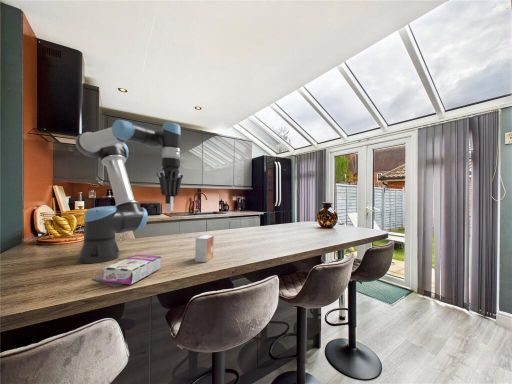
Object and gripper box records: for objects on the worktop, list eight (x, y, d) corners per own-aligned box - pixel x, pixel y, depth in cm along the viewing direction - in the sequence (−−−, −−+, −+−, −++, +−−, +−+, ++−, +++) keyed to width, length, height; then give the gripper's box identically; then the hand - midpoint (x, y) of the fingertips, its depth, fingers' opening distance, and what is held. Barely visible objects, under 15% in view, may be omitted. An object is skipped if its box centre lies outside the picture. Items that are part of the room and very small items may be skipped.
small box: (206, 262, 95) (206, 238, 95) (194, 261, 96) (195, 238, 96) (213, 257, 103) (214, 235, 103) (202, 256, 104) (203, 234, 104)
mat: (92, 279, 74) (92, 278, 74) (131, 267, 87) (131, 266, 87) (115, 287, 68) (115, 286, 68) (153, 273, 81) (153, 272, 81)
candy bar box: (136, 266, 87) (101, 282, 71) (137, 254, 87) (101, 266, 71) (161, 268, 85) (131, 285, 69) (162, 256, 85) (131, 269, 69)
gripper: (165, 155, 89) (163, 212, 88) (187, 160, 100) (186, 210, 100) (152, 156, 92) (151, 211, 92) (176, 160, 104) (174, 209, 103)
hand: (169, 210), depth 96 cm, fingers closed
